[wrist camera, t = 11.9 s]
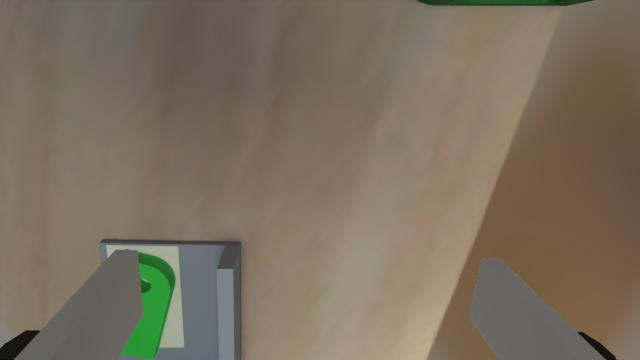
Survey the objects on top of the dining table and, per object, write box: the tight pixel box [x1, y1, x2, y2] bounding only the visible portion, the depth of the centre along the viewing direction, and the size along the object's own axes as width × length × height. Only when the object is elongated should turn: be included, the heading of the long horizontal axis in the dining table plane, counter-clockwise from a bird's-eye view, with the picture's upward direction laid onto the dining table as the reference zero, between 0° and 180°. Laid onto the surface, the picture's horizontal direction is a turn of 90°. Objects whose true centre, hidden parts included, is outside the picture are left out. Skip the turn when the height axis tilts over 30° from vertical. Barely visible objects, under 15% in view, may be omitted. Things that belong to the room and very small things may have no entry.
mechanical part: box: [121, 249, 176, 360], centre depth 39 cm, size 12×6×8 cm, turn 161°
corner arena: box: [100, 240, 241, 360], centre depth 42 cm, size 18×15×6 cm
